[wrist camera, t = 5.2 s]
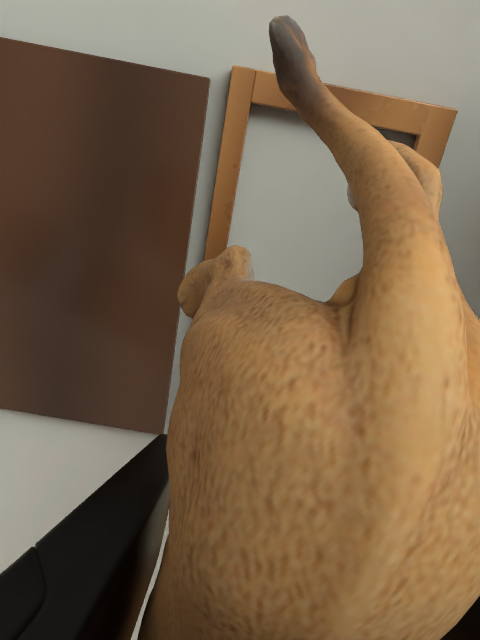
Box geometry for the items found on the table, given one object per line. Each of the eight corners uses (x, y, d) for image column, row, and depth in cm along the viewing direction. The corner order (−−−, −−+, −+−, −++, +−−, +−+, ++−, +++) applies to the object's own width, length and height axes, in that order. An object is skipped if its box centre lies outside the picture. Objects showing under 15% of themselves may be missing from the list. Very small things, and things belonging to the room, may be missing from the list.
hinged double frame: (453, 110, 15) (458, 109, 15) (335, 469, 21) (337, 474, 21) (-23, 16, 15) (-30, 13, 14) (-5, 412, 21) (-10, 417, 20)
